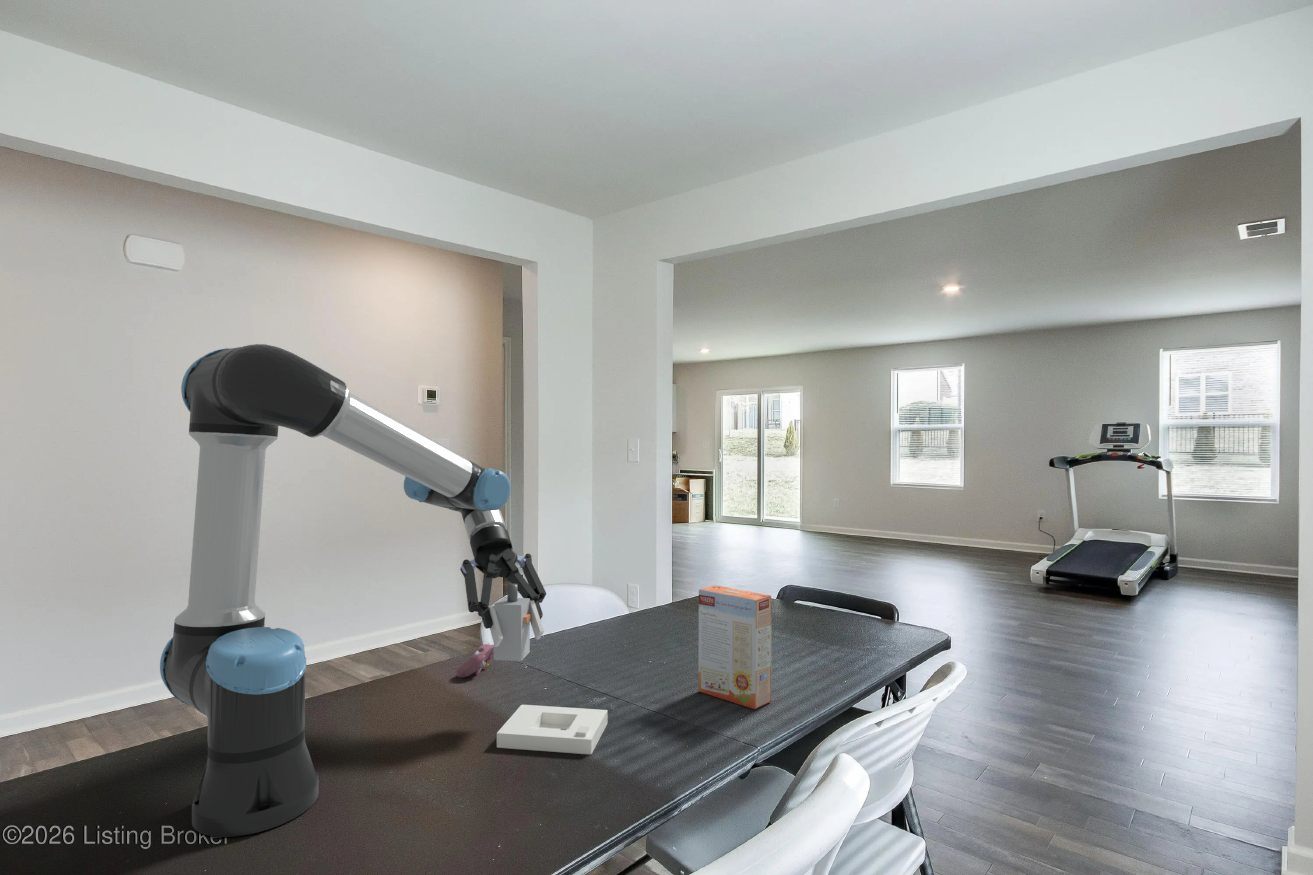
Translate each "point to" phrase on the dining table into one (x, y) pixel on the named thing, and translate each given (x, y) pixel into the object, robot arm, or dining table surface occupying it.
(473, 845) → the dining table surface
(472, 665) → the video game controller
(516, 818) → the dining table surface
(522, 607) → the plug
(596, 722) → the socket plate
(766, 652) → the cracker box
